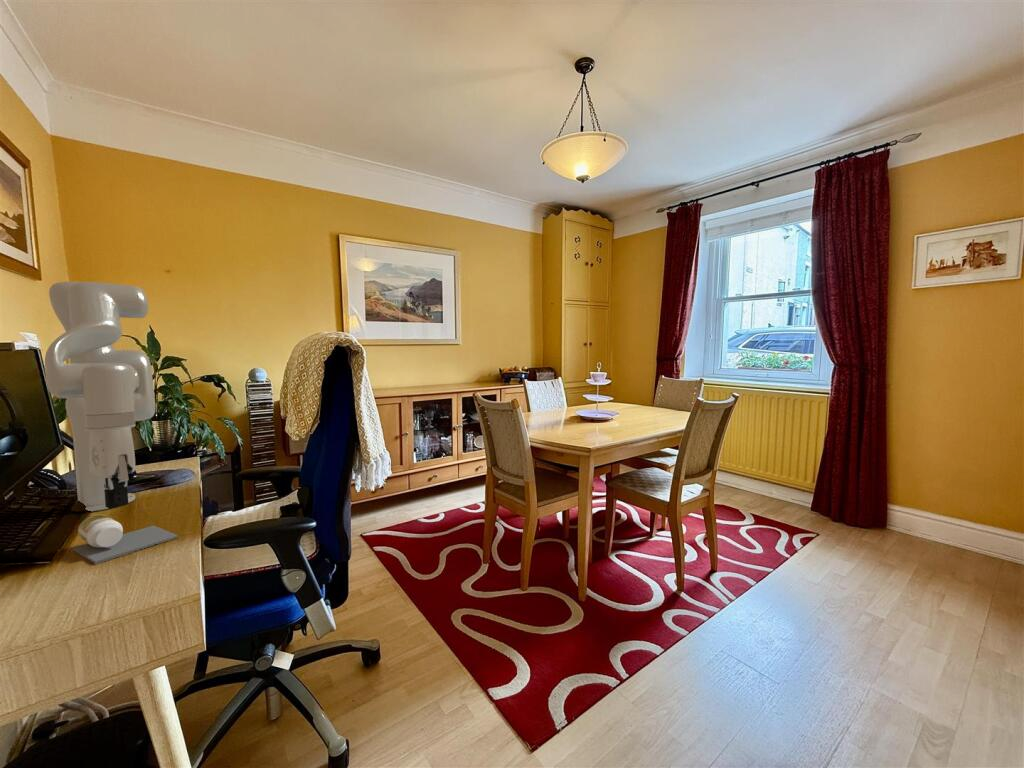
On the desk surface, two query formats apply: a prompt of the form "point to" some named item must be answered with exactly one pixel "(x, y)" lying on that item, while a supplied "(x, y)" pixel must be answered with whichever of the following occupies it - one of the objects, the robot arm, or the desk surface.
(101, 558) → the rubber mat
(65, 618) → the desk surface
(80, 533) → the supplement bottle
